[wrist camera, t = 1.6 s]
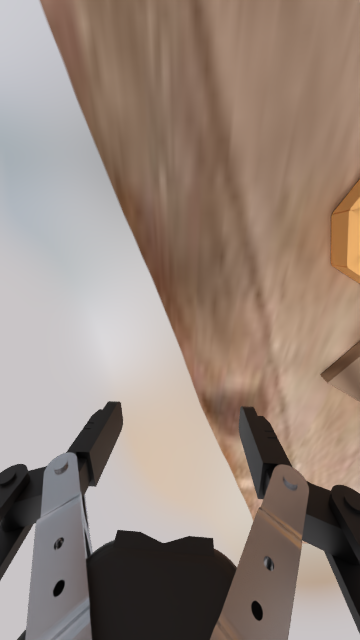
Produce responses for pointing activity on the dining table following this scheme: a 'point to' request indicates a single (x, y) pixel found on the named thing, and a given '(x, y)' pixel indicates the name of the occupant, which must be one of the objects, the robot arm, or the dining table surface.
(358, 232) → the orange octagonal ring
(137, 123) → the dining table surface
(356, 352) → the hook stand
